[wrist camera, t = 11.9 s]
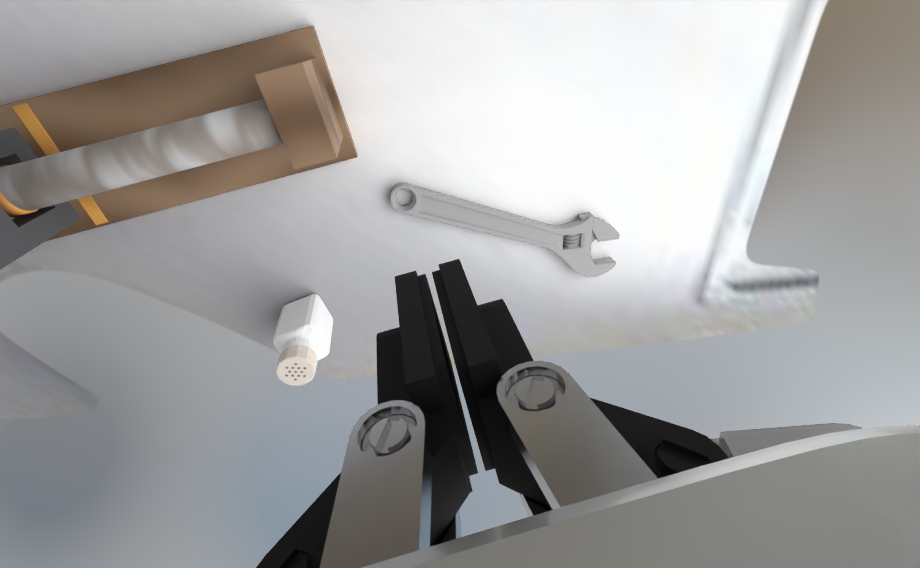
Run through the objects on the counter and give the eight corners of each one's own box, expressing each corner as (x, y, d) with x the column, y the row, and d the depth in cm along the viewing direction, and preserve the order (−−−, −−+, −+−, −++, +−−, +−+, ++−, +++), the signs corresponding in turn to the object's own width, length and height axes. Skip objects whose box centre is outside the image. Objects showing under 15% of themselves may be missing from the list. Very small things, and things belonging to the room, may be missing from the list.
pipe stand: (-110, 134, 32) (-259, 166, 25) (313, 26, 34) (296, 23, 26) (-7, 252, 38) (-104, 308, 30) (357, 154, 39) (354, 183, 31)
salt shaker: (317, 289, 45) (305, 346, 36) (335, 319, 47) (328, 379, 38) (281, 303, 45) (261, 363, 37) (300, 333, 47) (286, 395, 39)
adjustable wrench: (385, 204, 42) (385, 210, 41) (408, 139, 40) (409, 144, 38) (595, 275, 50) (602, 283, 49) (626, 226, 48) (634, 232, 46)
